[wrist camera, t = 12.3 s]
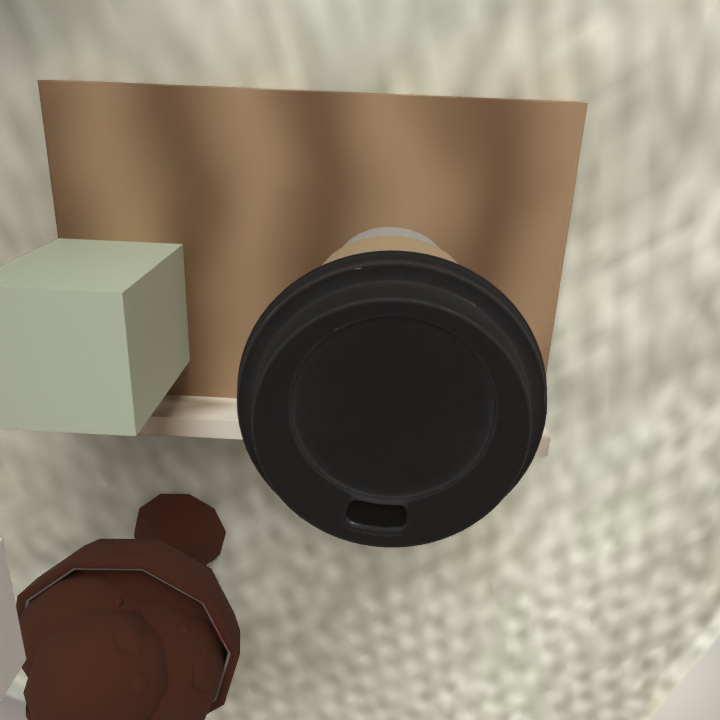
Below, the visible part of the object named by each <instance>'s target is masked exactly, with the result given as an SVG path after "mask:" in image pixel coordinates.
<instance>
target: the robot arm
mask: <svg viewBox="0 0 720 720" xmlns="http://www.w3.org/2000/svg"><path fill="white" fill-rule="evenodd" d="M25 661H26V656H25V650H24V645H23V640H22V635H21V630H20V625H19V620H18V615H17V609H16V604H15V599H14V594H13V589H12V584H11V579H10V574H9V569H8V563H7V558H6V553H5V548H4V543H3V538H0V701H1V699H2V698H3V696H4V695H5V693H6V691H7V690H8V688H9V687H10V685H11V683H12V682H13V680H14V679H15V677H16V675H17V674H18V672H19V670H20V669H21V667H22V666H23V664H24V662H25Z"/></svg>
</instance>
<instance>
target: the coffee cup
mask: <svg viewBox="0 0 720 720" xmlns="http://www.w3.org/2000/svg"><path fill="white" fill-rule="evenodd" d="M546 414H547V385H546V374H545V367H544V362H543V359H542V355H541V351H540V349H539V346H538V343H537V341H536V338H535V336H534V334H533V332H532V330H531V328H530V326H529V325H528V323H527V322H526V320H525V318H524V317H523V315H522V314H521V313H520V312H519V310H518V309H517V308H516V306H515V305H514V304H513V303H512V302H511V301H510V300H509V299H508V298H507V297H506V295H505V294H503V293H502V292H501V291H500V290H499V289H498V288H496V287H495V286H494V285H493V284H491V283H490V282H489V281H487V280H486V279H485V278H483V277H482V276H480V275H478V274H477V273H475V272H473V271H471V270H470V269H468V268H466V267H463V266H461V265H459V264H458V263H457V262H456V261H455V260H454V259H453V258H452V257H451V256H450V255H449V254H448V253H446V252H444V251H443V250H441V249H440V248H439V247H438V246H437V245H436V244H435V243H434V242H433V241H432V240H431V239H429V238H427V237H425V236H424V235H422V234H420V233H418V232H415V231H412V230H409V229H405V228H399V227H380V228H374V229H370V230H367V231H365V232H362V233H359V234H358V235H356V236H355V237H353V238H352V239H350V240H349V241H348V242H347V243H346V244H345V245H344V246H343V247H342V248H340V249H339V250H337V251H336V252H334V253H333V254H332V255H331V256H330V257H329V258H328V259H327V260H326V261H325V262H324V263H323V264H322V266H320V267H318V268H315V269H313V270H311V271H310V272H308V273H306V274H305V275H303V276H302V277H300V278H298V279H297V280H296V281H294V282H293V283H292V284H290V285H289V286H288V287H287V288H285V289H284V290H283V291H282V292H281V293H280V294H279V295H278V296H277V297H276V298H275V299H274V300H273V301H272V302H271V303H270V304H269V305H268V307H267V308H266V309H265V311H264V312H263V313H262V315H261V316H260V317H259V319H258V321H257V322H256V324H255V326H254V327H253V329H252V331H251V333H250V335H249V337H248V339H247V342H246V345H245V347H244V350H243V353H242V357H241V361H240V365H239V371H238V380H237V415H238V422H239V427H240V431H241V435H242V438H243V441H244V444H245V447H246V449H247V451H248V454H249V456H250V458H251V460H252V462H253V463H254V465H255V467H256V469H257V470H258V472H259V473H260V475H261V476H262V477H263V479H264V480H265V481H266V483H267V484H268V485H269V486H270V487H271V489H272V490H273V491H274V492H275V493H276V494H277V495H278V496H279V497H280V498H281V499H282V501H283V502H284V503H285V504H286V505H287V506H288V507H289V508H290V509H291V510H293V511H294V512H295V513H296V514H297V515H298V516H300V517H301V518H302V519H304V520H305V521H307V522H308V523H310V524H311V525H313V526H315V527H316V528H318V529H320V530H322V531H324V532H326V533H328V534H330V535H333V536H335V537H338V538H340V539H343V540H347V541H350V542H354V543H358V544H362V545H368V546H376V547H409V546H416V545H422V544H427V543H431V542H434V541H438V540H441V539H444V538H447V537H449V536H452V535H454V534H456V533H458V532H461V531H463V530H464V529H466V528H468V527H470V526H471V525H473V524H475V523H476V522H477V521H479V520H480V519H482V518H483V517H484V516H486V515H487V514H488V513H489V512H490V511H492V510H493V509H494V508H495V507H496V506H497V505H498V504H499V503H500V502H501V500H502V499H503V498H504V497H505V496H506V495H507V494H508V493H509V492H510V491H511V490H512V489H513V488H514V487H515V485H516V484H517V483H518V482H519V481H520V479H521V478H522V476H523V475H524V474H525V472H526V471H527V469H528V467H529V466H530V464H531V462H532V460H533V458H534V456H535V454H536V452H537V450H538V447H539V444H540V441H541V438H542V435H543V431H544V427H545V421H546Z"/></svg>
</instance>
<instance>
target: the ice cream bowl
mask: <svg viewBox="0 0 720 720" xmlns="http://www.w3.org/2000/svg"><path fill="white" fill-rule="evenodd" d="M225 533H226V531H225V529H224V527H223V525H222V523H221V521H220V519H219V517H218V515H217V513H216V511H215V509H213V508H212V507H210V506H208V505H207V504H205V503H203V502H202V501H200V500H198V499H196V498H195V497H193V496H191V495H190V494H160V495H158V496H157V497H155V498H154V499H153V500H151V501H150V502H148V503H147V504H145V505H144V506H142V507H141V508H140V509H139V514H138V518H137V523H136V528H135V534H134V537H135V539H99V540H96V541H94V542H92V543H89V544H87V545H85V546H83V547H82V548H80V549H79V550H78V551H76V552H75V553H73V554H72V555H70V556H69V557H67V558H66V559H64V560H63V561H62V562H60V563H59V564H57V565H56V566H54V567H53V568H51V569H50V570H48V571H47V572H45V573H44V574H43V575H41V576H40V577H38V578H37V579H36V580H35V581H34V582H32V583H31V584H30V585H29V586H28V587H27V588H26V589H25V590H23V591H22V592H21V593H20V594H19V595H18V596H17V603H16V609H17V615H18V620H19V625H20V630H21V635H22V640H23V645H24V650H25V656H26V661H25V662H24V664H23V666H22V669H23V670H24V672H25V673H26V675H27V677H28V680H27V683H26V687H25V690H24V696H25V700H26V717H27V719H28V720H204V719H205V717H206V715H207V714H208V713H210V712H211V711H213V710H215V709H217V708H219V707H220V706H222V705H224V703H225V700H226V696H227V693H228V690H229V687H230V684H231V680H232V677H233V674H234V671H235V668H236V664H237V661H238V658H239V655H240V629H239V626H238V623H237V620H236V617H235V614H234V612H233V610H232V608H231V606H230V604H229V602H228V600H227V598H226V596H225V594H224V593H223V591H222V589H221V587H220V585H219V583H218V581H217V579H216V577H215V575H214V573H213V571H212V569H211V568H209V567H207V566H205V565H206V564H208V563H209V562H211V561H212V560H214V559H215V558H216V557H217V556H218V555H219V554H220V551H221V548H222V544H223V541H224V537H225Z"/></svg>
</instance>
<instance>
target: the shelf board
mask: <svg viewBox="0 0 720 720" xmlns="http://www.w3.org/2000/svg"><path fill="white" fill-rule="evenodd" d="M38 85H39V93H40V101H41V108H42V116H43V124H44V132H45V139H46V147H47V155H48V162H49V170H50V178H51V185H52V193H53V201H54V208H55V216H56V224H57V232H58V238H64V239H85V240H106V241H127V242H149V243H170V244H183V255H184V271H185V288H186V304H187V320H188V337H189V353H190V361H189V363H188V364H187V365H186V367H185V368H184V370H183V371H182V372H181V374H180V375H179V377H178V378H177V379H176V381H175V382H174V384H173V385H172V386H171V388H170V389H169V391H168V392H167V394H166V395H165V396H164V398H163V399H162V401H161V402H160V403H159V405H158V406H157V408H156V409H155V410H154V412H153V413H152V415H151V416H150V417H149V419H148V420H147V422H146V423H145V424H144V426H143V427H142V429H141V430H140V432H139V433H138V434H149V435H168V436H186V437H205V438H223V439H241V440H243V438H242V435H241V431H240V427H239V422H238V415H237V380H238V371H239V365H240V361H241V357H242V353H243V350H244V347H245V345H246V342H247V339H248V337H249V335H250V333H251V331H252V329H253V327H254V326H255V324H256V322H257V321H258V319H259V317H260V316H261V315H262V313H263V312H264V311H265V309H266V308H267V307H268V305H269V304H270V303H271V302H272V301H273V300H274V299H275V298H276V297H277V296H278V295H279V294H280V293H281V292H282V291H283V290H284V289H285V288H287V287H288V286H289V285H290V284H292V283H293V282H294V281H296V280H297V279H298V278H300V277H302V276H303V275H305V274H306V273H308V272H310V271H311V270H313V269H315V268H318V267H320V266H322V264H323V263H324V262H325V261H326V260H327V259H328V258H329V257H330V256H331V255H332V254H333V253H334V252H336V251H337V250H339V249H340V248H342V247H343V246H344V245H345V244H346V243H347V242H348V241H349V240H350V239H352V238H353V237H355V236H356V235H358V234H359V233H362V232H365V231H367V230H370V229H374V228H380V227H399V228H405V229H409V230H412V231H415V232H418V233H420V234H422V235H424V236H425V237H427V238H429V239H431V240H432V241H433V242H434V243H435V244H436V245H437V246H438V247H439V248H440V249H441V250H443V251H444V252H446V253H448V254H449V255H450V256H451V257H452V258H453V259H454V260H455V261H456V262H457V263H458V264H459V265H461V266H463V267H466V268H468V269H470V270H471V271H473V272H475V273H477V274H478V275H480V276H482V277H483V278H485V279H486V280H487V281H489V282H490V283H491V284H493V285H494V286H495V287H496V288H498V289H499V290H500V291H501V292H502V293H503V294H505V295H506V297H507V298H508V299H509V300H510V301H511V302H512V303H513V304H514V305H515V306H516V308H517V309H518V310H519V312H520V313H521V314H522V315H523V317H524V318H525V320H526V322H527V323H528V325H529V326H530V328H531V330H532V332H533V334H534V336H535V338H536V341H537V343H538V346H539V349H540V351H541V355H542V359H543V362H544V367H545V374H546V371H547V364H548V358H549V351H550V345H551V338H552V332H553V325H554V319H555V312H556V306H557V299H558V293H559V286H560V280H561V273H562V267H563V260H564V254H565V247H566V241H567V234H568V228H569V221H570V215H571V208H572V202H573V195H574V189H575V182H576V176H577V169H578V163H579V156H580V149H581V143H582V136H583V130H584V123H585V117H586V110H587V104H588V103H582V102H571V101H547V100H523V99H499V98H475V97H451V96H427V95H403V94H379V93H355V92H331V91H307V90H283V89H259V88H235V87H211V86H187V85H163V84H139V83H115V82H91V81H67V80H38ZM549 442H550V436H549V434H548V432H547V430H546V427H544V431H543V435H542V438H541V441H540V444H539V447H538V450H537V452H536V454H535V455H536V456H547V454H548V448H549Z"/></svg>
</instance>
